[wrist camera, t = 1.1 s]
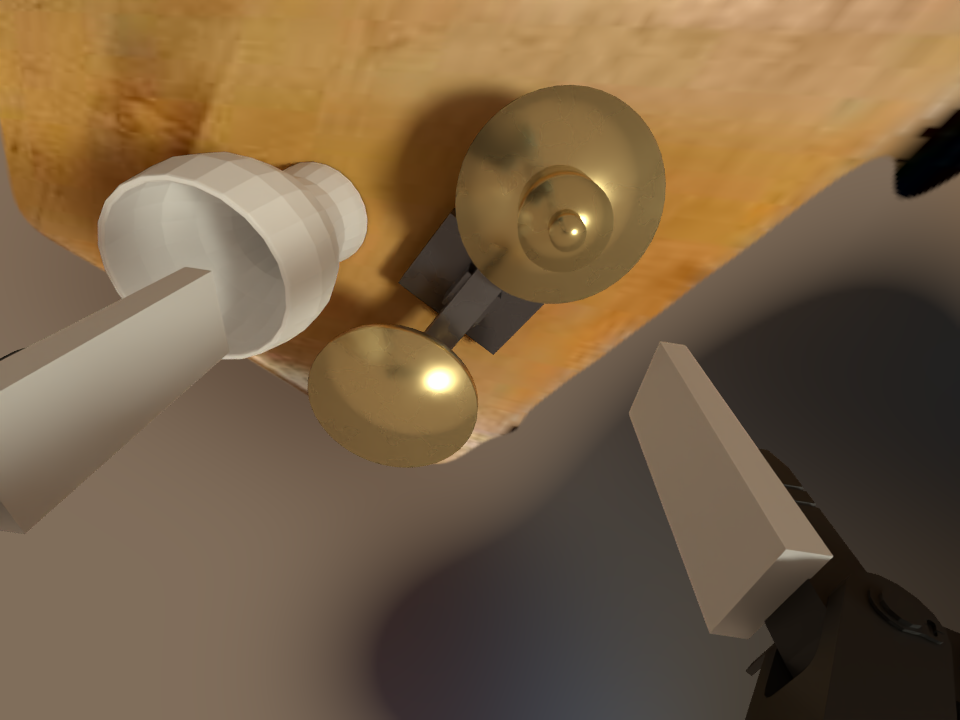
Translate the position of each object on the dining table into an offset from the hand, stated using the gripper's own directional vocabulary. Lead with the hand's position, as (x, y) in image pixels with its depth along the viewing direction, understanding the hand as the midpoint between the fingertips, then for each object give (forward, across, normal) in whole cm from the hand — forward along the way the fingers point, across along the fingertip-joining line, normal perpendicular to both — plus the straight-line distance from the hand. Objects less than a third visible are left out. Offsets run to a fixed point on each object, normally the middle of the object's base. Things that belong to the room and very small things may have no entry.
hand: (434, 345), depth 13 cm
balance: (+22, 0, -7) cm, 23 cm away
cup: (+23, -13, -3) cm, 26 cm away
